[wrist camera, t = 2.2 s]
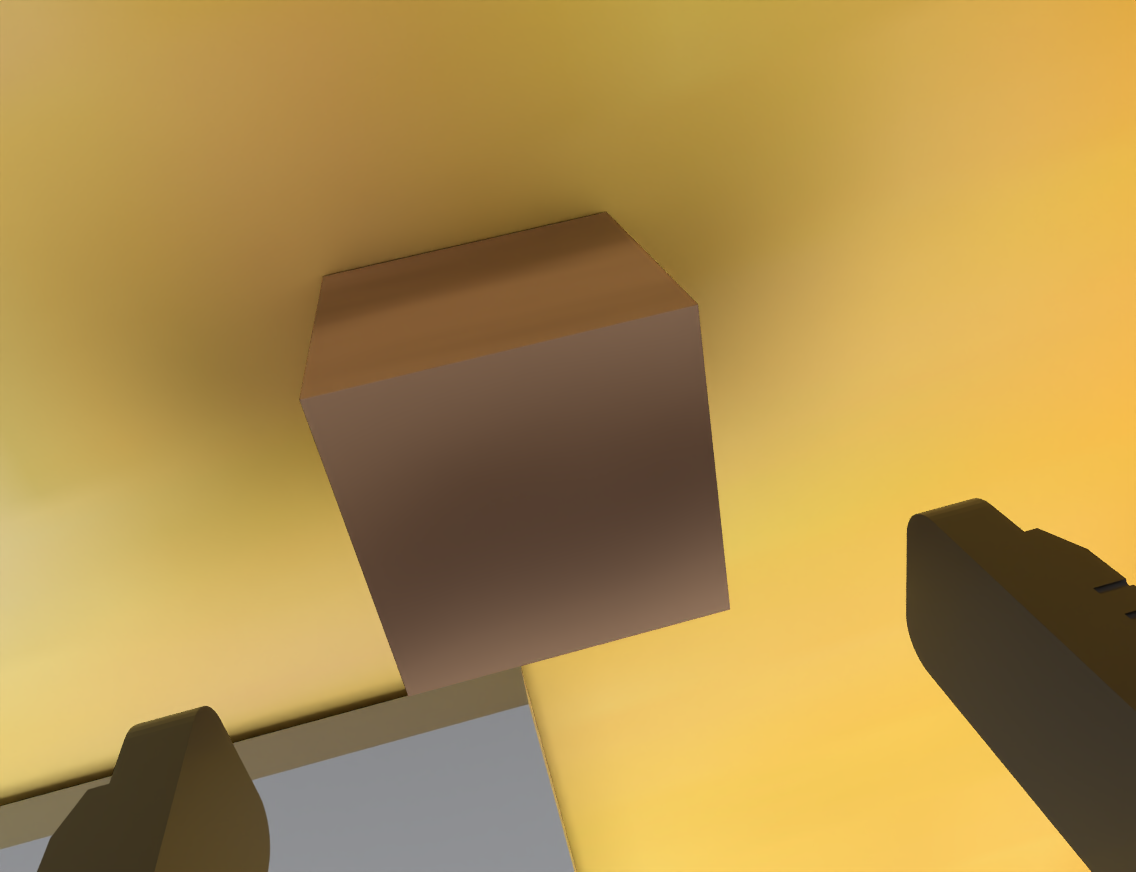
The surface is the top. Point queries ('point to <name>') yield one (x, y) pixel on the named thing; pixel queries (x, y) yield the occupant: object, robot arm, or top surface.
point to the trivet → (383, 789)
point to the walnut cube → (518, 447)
